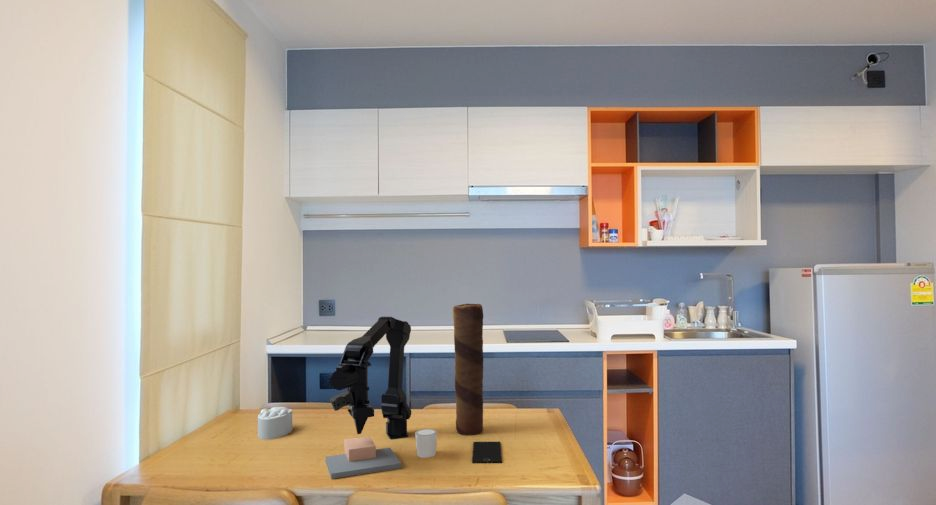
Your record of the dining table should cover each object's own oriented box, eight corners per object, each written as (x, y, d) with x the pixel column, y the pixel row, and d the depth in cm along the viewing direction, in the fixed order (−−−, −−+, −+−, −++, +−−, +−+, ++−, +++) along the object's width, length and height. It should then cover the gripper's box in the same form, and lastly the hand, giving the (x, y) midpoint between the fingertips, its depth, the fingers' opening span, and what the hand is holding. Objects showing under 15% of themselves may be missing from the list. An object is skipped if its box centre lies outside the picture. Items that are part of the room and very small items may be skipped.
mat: (390, 452, 173) (390, 447, 173) (401, 468, 159) (401, 463, 159) (325, 461, 166) (325, 456, 166) (331, 479, 152) (331, 473, 152)
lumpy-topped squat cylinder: (296, 428, 199) (295, 404, 200) (278, 440, 187) (278, 414, 187) (269, 427, 201) (269, 404, 201) (250, 439, 188) (250, 414, 188)
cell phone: (472, 464, 162) (472, 461, 162) (473, 444, 180) (473, 441, 180) (501, 464, 162) (501, 461, 162) (500, 444, 180) (500, 441, 180)
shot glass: (420, 460, 166) (420, 436, 166) (412, 453, 172) (411, 430, 172) (441, 456, 169) (440, 433, 169) (432, 449, 175) (431, 427, 175)
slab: (369, 436, 173) (375, 446, 164) (369, 447, 173) (375, 457, 164) (344, 439, 171) (348, 449, 161) (344, 450, 171) (349, 461, 161)
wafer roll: (480, 437, 186) (478, 305, 187) (451, 434, 189) (449, 305, 190) (489, 428, 196) (487, 303, 197) (461, 425, 199) (459, 302, 200)
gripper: (328, 379, 174) (328, 428, 174) (335, 392, 157) (336, 446, 156) (363, 376, 178) (363, 424, 178) (374, 388, 161) (374, 441, 160)
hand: (359, 433), depth 168 cm, fingers closed
